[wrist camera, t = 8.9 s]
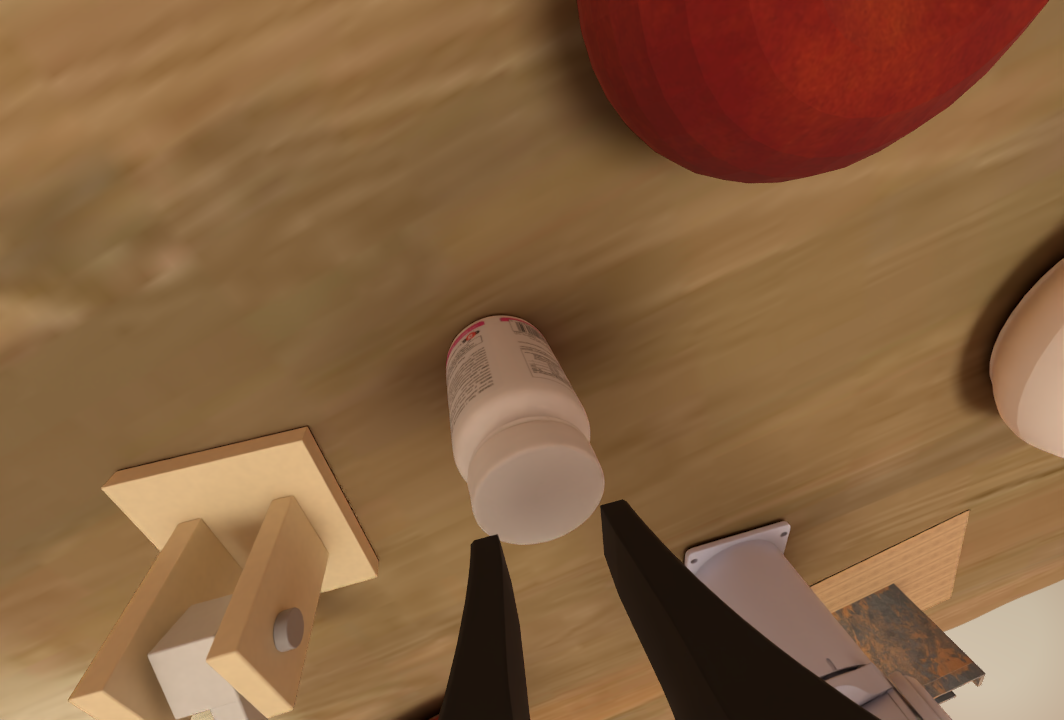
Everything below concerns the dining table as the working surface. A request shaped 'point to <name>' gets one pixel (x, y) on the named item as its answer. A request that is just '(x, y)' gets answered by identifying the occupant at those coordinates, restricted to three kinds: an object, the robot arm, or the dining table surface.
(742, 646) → the robot arm
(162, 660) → the lever
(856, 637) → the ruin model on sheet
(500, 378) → the pill bottle
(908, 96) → the apple
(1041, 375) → the teapot
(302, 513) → the bracket
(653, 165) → the dining table surface
